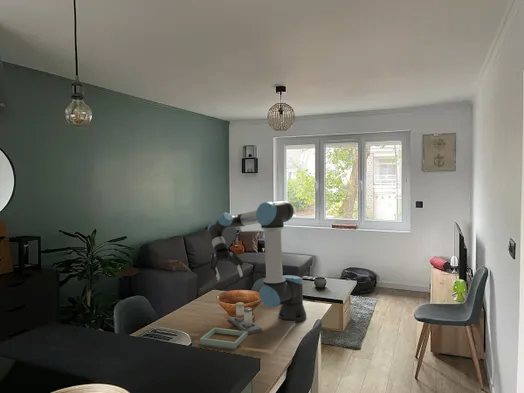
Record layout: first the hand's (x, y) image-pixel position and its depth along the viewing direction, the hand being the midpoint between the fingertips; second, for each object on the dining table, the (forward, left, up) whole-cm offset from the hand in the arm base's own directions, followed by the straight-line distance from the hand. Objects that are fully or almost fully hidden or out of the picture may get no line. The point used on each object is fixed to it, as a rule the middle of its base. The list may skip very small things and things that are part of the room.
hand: (230, 277), depth 214 cm
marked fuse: (-8, +7, -21) cm, 24 cm away
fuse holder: (-12, +11, -22) cm, 28 cm away
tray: (-10, +30, -22) cm, 39 cm away
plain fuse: (-16, +14, -21) cm, 30 cm away
